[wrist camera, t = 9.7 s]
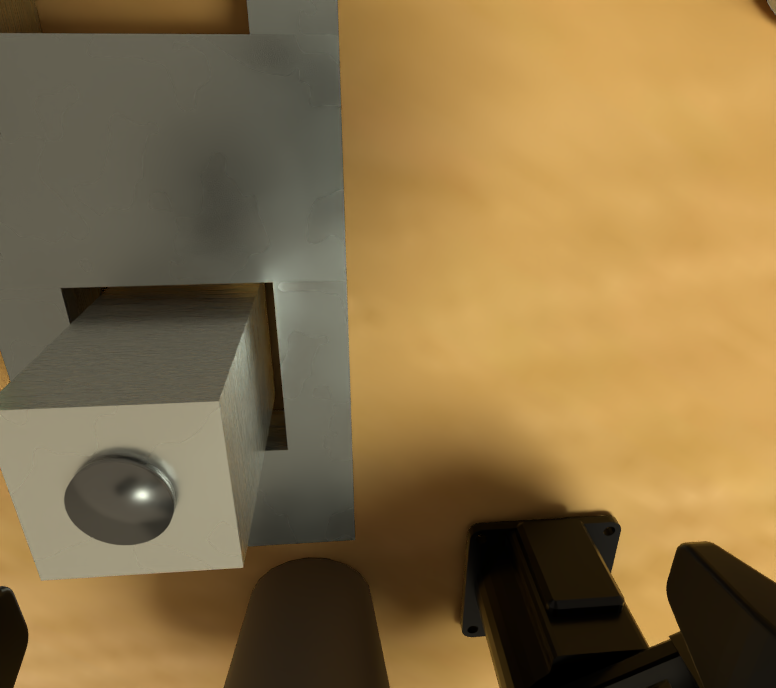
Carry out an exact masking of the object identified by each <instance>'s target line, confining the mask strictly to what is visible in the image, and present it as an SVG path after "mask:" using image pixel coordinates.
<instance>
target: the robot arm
mask: <svg viewBox="0 0 776 688" xmlns="http://www.w3.org/2000/svg"><path fill="white" fill-rule="evenodd" d="M607 527H609V528H607ZM606 528H607V529H606ZM620 532H621V527H620V525H619V523H618V522H617V520H616V519H615V517H613V516H608V515H607V516H590V517H573V518H557V519H540V520H523V521H506V522H490V523H478V524H475V525H473V526H471V527H470V528H469V530H468V534H467V546H466V559H465V571H464V583H463V596H462V608H461V621H460V624H461V628H462V633H463V634H464V635H465V636H467V637H480V636H486V639H487V642H488V646H489V650H490V654H491V657H492V661H493V665H494V669H495V672H496V676H497V680H498V684H499V687H500V688H776V583H775V582H774V581H772V580H771V579H769V578H768V577H766V576H764V575H763V574H761V573H760V572H758V571H757V570H755V569H753V568H752V567H750V566H749V565H747V564H746V563H744V562H742V561H741V560H739V559H738V558H736V557H735V556H733V555H731V554H730V553H728V552H727V551H725V550H724V549H722V548H720V547H719V546H717V545H715V544H714V543H711V542H706V541H703V542H687V543H682V544H681V545H680V546H679V547H678V548H677V550H676V553H675V557H674V560H673V563H672V567H671V570H670V574H669V577H668V580H667V587H666V591H667V597H668V601H669V604H670V606H671V609H672V611H673V614H674V616H675V618H676V621H677V623H678V626H679V628H680V632H677V633H675V634H673V635H670V636H669V638H670V639H669V640H666V641H664V642H662V643H659V644H657V645H655V646H652V647H649V645H648V643H647V642H646V640H645V638H644V636H643V634H642V632H641V631H640V629H639V627H638V625H637V623H636V621H635V620H634V618H633V616H632V614H631V612H630V610H629V608H628V607H627V605H626V603H625V600H624V597H623V595H622V593H621V591H620V589H619V588H618V586H617V584H616V582H615V580H614V578H613V577H612V575H611V571H612V566H613V562H614V558H615V553H616V549H617V545H618V541H619V536H620ZM478 535H483V536H480V537H477V536H478ZM27 644H28V628H27V625H26V622H25V620H24V617H23V615H22V612H21V610H20V607H19V605H18V602H17V600H16V597H15V595H14V593H13V591H12V590H11V589H10V588H8V587H5V586H0V688H13V687H14V684H15V681H16V678H17V675H18V672H19V669H20V666H21V663H22V660H23V657H24V655H25V652H26V648H27Z"/></svg>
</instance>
